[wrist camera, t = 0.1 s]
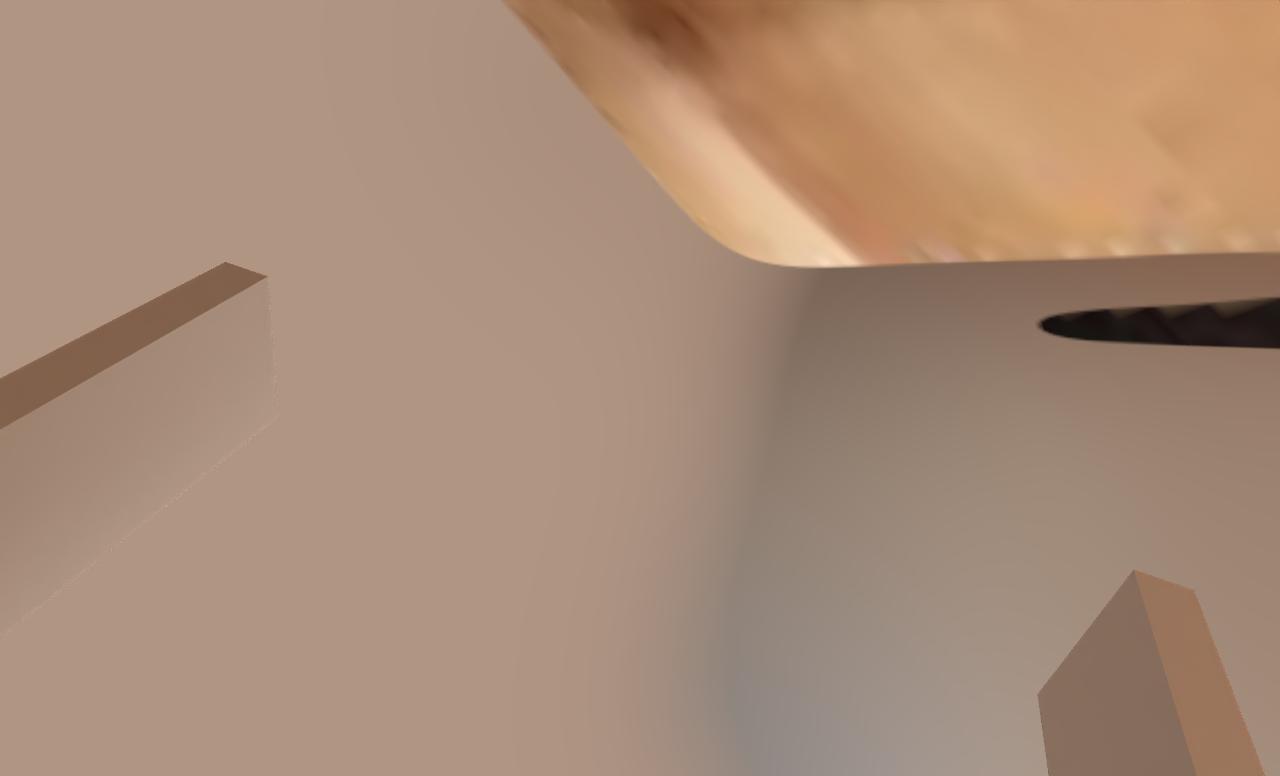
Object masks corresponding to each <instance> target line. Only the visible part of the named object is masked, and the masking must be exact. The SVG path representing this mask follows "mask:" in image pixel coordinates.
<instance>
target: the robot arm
mask: <svg viewBox="0 0 1280 776" xmlns="http://www.w3.org/2000/svg"><path fill="white" fill-rule="evenodd" d="M268 284H269V283H268V276H265V275H262V274H259V273H256V272H253V271H250V270H247V269H244V268H241V267H238V266H235V265H233V264H230V263H227V262H225V263H223V264H221V265H219V266H217V267H215V268H213V269H211V270H209V271H207V272H205V273H204V274H201V275H200V276H198V277H196V278H194V279H192V280H190V281H188V282H186V283H184V284H182V285H180V286H178V287H176V288H174V289H173V290H171V291H169V292H167V293H165V294H163V295H161V296H159V297H157V298H155V299H153V300H151V301H149V302H147V303H146V304H144V305H142V306H140V307H138V308H136V309H134V310H132V311H130V312H128V313H126V314H124V315H122V316H120V317H118V318H116V319H114V320H113V321H111V322H109V323H107V324H105V325H103V326H101V327H99V328H97V329H95V330H93V331H91V332H90V333H88V334H85V335H84V336H82V337H80V338H78V339H76V340H74V341H72V342H70V343H68V344H66V345H64V346H62V347H60V348H58V349H56V350H55V351H53V352H51V353H49V354H47V355H45V356H43V357H41V358H39V359H37V360H35V361H33V362H32V363H29V364H27V365H25V366H24V367H22V368H20V369H18V370H16V371H14V372H12V373H10V374H8V375H6V376H4V377H2V378H0V639H1V638H2V637H3V636H4V635H6V634H7V633H8V632H9V631H11V630H12V629H13V628H15V627H16V626H17V625H18V624H20V623H21V622H22V621H23V620H25V619H26V618H27V617H28V616H30V615H31V614H32V613H33V612H35V611H36V610H37V609H38V608H39V607H41V606H42V605H43V604H44V603H46V602H47V601H48V600H50V599H51V598H52V597H53V596H55V595H56V594H57V593H58V592H60V591H61V590H62V589H63V588H65V587H66V586H67V585H68V584H70V583H71V582H72V581H73V580H75V579H76V578H77V577H78V576H80V575H81V574H82V573H83V572H85V571H86V570H87V569H88V568H90V567H91V566H92V565H93V564H95V563H96V562H97V561H98V560H100V559H101V558H102V557H104V556H105V555H106V554H107V553H109V552H110V551H111V550H112V549H114V548H115V547H116V546H117V545H119V544H120V543H121V542H122V541H124V540H125V539H126V538H127V537H129V536H130V535H131V534H132V533H134V532H135V531H136V530H137V529H139V528H140V527H141V526H142V525H144V524H145V523H146V522H147V521H148V520H150V519H151V518H152V517H154V516H155V515H156V514H157V513H159V512H160V511H161V510H162V509H164V508H165V507H166V506H167V505H169V504H170V503H171V502H172V501H174V500H175V499H176V498H178V497H179V496H180V495H181V494H183V493H184V492H185V491H186V490H187V489H189V488H190V487H191V486H193V485H194V484H195V483H196V482H198V481H199V480H200V479H201V478H203V477H204V476H205V475H206V474H208V473H209V472H210V471H211V470H212V469H214V468H215V467H216V466H218V465H219V464H220V463H221V462H223V461H224V460H225V459H226V458H228V457H229V456H230V455H231V454H233V453H234V452H235V451H236V450H238V449H239V448H240V447H241V446H243V445H244V444H245V443H246V442H248V441H249V440H250V439H251V438H253V437H254V436H255V435H256V434H258V433H259V432H260V431H261V430H263V429H264V428H265V427H266V426H268V425H269V424H270V423H272V422H273V421H274V420H275V419H276V418H278V417H279V408H278V395H277V382H276V371H275V358H274V345H273V334H272V321H271V309H270V296H269V285H268ZM1038 701H1039V708H1040V715H1041V722H1042V729H1043V737H1044V745H1045V752H1046V759H1047V767H1048V774H1049V776H1265V774H1264V771H1263V769H1262V766H1261V764H1260V761H1259V758H1258V756H1257V753H1256V750H1255V748H1254V745H1253V743H1252V740H1251V737H1250V735H1249V733H1248V730H1247V727H1246V724H1245V722H1244V719H1243V717H1242V714H1241V712H1240V709H1239V706H1238V704H1237V701H1236V698H1235V696H1234V693H1233V691H1232V688H1231V685H1230V683H1229V680H1228V678H1227V675H1226V672H1225V670H1224V667H1223V665H1222V662H1221V659H1220V657H1219V654H1218V652H1217V649H1216V646H1215V644H1214V641H1213V639H1212V636H1211V633H1210V631H1209V628H1208V626H1207V623H1206V620H1205V618H1204V615H1203V612H1202V610H1201V607H1200V605H1199V602H1198V599H1197V597H1196V594H1195V592H1194V590H1192V589H1189V588H1186V587H1183V586H1180V585H1177V584H1175V583H1172V582H1169V581H1165V580H1163V579H1160V578H1156V577H1154V576H1151V575H1148V574H1145V573H1142V572H1139V571H1136V570H1133V572H1132V573H1131V574H1130V575H1129V577H1128V578H1127V579H1126V580H1125V582H1124V583H1123V584H1122V586H1121V587H1120V588H1119V590H1118V591H1117V592H1116V593H1115V595H1114V596H1113V597H1112V599H1111V600H1110V601H1109V602H1108V604H1107V605H1106V606H1105V608H1104V609H1103V610H1102V612H1101V613H1100V614H1099V616H1098V617H1097V618H1096V619H1095V621H1094V622H1093V623H1092V624H1091V626H1090V627H1089V628H1088V630H1087V631H1086V632H1085V634H1084V635H1083V636H1082V638H1081V639H1080V640H1079V641H1078V643H1077V644H1076V645H1075V647H1074V648H1073V649H1072V650H1071V652H1070V653H1069V654H1068V656H1067V657H1066V658H1065V659H1064V661H1063V662H1062V663H1061V665H1060V666H1059V667H1058V669H1057V670H1056V671H1055V672H1054V674H1053V675H1052V676H1051V678H1050V679H1049V680H1048V682H1047V683H1046V684H1045V685H1044V687H1043V688H1042V689H1041V691H1040V692H1039V693H1038Z"/></svg>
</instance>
